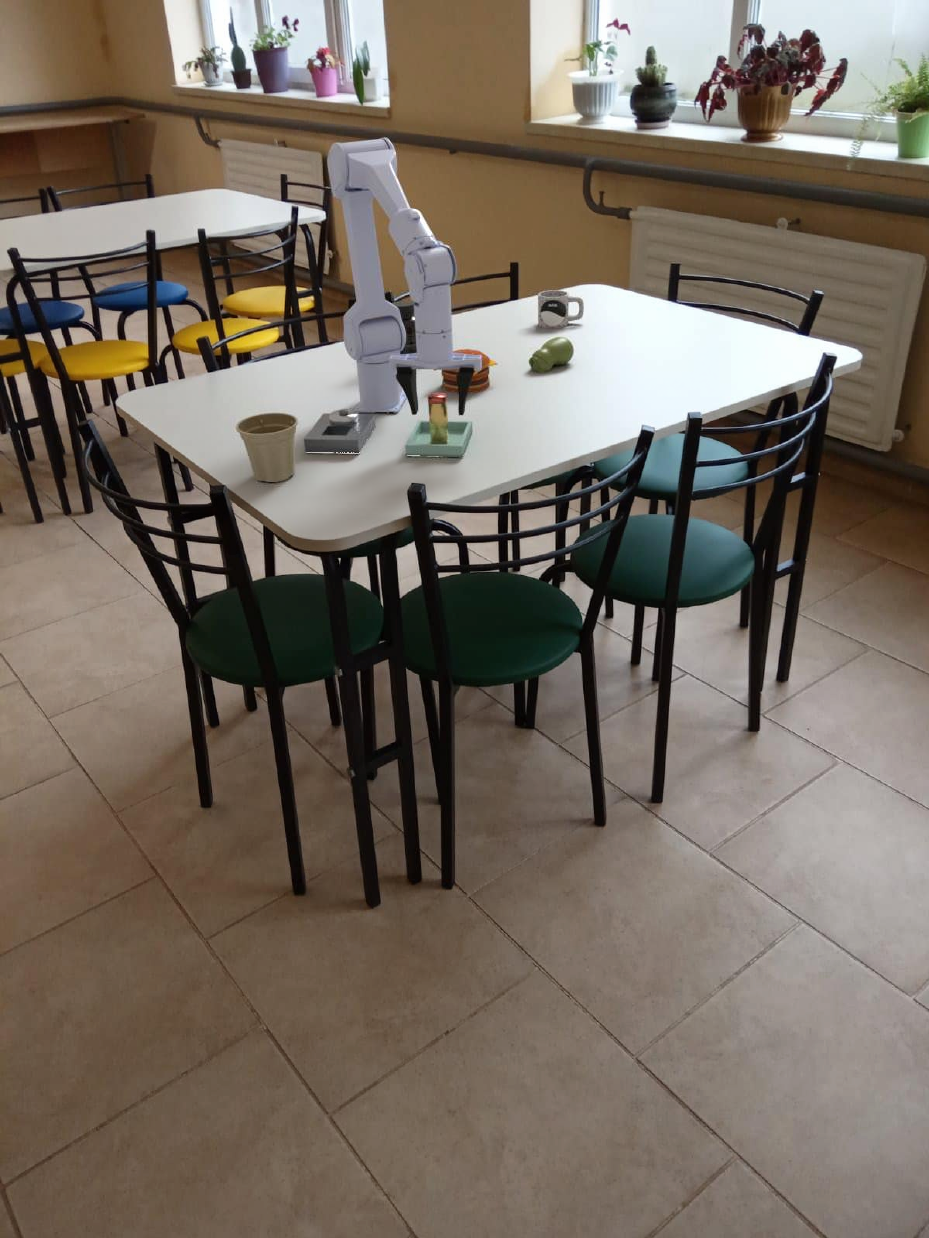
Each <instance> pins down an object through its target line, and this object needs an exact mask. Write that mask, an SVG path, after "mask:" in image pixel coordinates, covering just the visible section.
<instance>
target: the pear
mask: <svg viewBox="0 0 929 1238" xmlns="http://www.w3.org/2000/svg"><path fill="white" fill-rule="evenodd" d="M574 351H575V349H574V346H573V344H572V341H570V339H568V338H567V337H564V336H556V337H553V338H551V339H549V340H548V341H545V343H544V344H543V345H542V346H541V347H540V348H539V349H537V350H535V351H534V352H533V353H532V355H531V357H529V359H528V364H529V366H530V369H531V370H532V371H535V372H538V373H547V372H549V371H550V370H551V369H552V368H553V366H554V365H558V366H559V365H561V366H562V365H566V364H568V363H569V362H571V360H572V359H573V357H574Z"/></svg>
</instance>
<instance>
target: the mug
mask: <svg viewBox="0 0 929 1238" xmlns="http://www.w3.org/2000/svg"><path fill="white" fill-rule="evenodd" d="M569 303H577V304H578V313H577V314H576V315H575V314H574V315H571V314H570V315H569V306H570V305H569ZM584 305H585V303H584V300H583V298H581V297H578V296H574V295H573V296H572V295H569V292H567V291H566V290H559V289H557V290H556V289H555V290H554V289H550V290H544V291H540V292H538V294H537V323H538V327H541V328H542V329H561V328H566V327H567V326H569V322H574V321H579V320H581V319H582V318H583V316H584V308H585V306H584Z"/></svg>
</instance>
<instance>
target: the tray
mask: <svg viewBox="0 0 929 1238" xmlns="http://www.w3.org/2000/svg"><path fill="white" fill-rule="evenodd" d="M472 432H473V421H472V420H448V434H449V442H448V443H447V444H431V439H430V423H429V420H427V419H426V420H417V422H416V423H415V426H414V428H413V430H412V431H411V434H410V435H409V438H408V439H407V442H406V443H405V456H406V455H420V456H439V457H441V456H442V457H463V458H464V456H465V454H464V453H466V451H467V448H468V446H469V443H470V441H469V440H471V437H472V435H473V433H472ZM468 442H469V443H468ZM467 445H468V446H467ZM465 450H466V451H465ZM463 455H464V456H463Z"/></svg>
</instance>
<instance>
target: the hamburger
mask: <svg viewBox="0 0 929 1238" xmlns="http://www.w3.org/2000/svg"><path fill="white" fill-rule="evenodd" d="M453 353H460V354H468V355H482V369H481V371H475V373H474V375H473V378H472V381H471V383H470V386H469V390H468V393H467V394H471V392H472V393H476V391H477V392H481V391H483V390H486V389H487V388H488V387H489V386H490V384H491V383H490V381H491V380H490V376H489V375H490V367H492V366H496V365H497V366H498V362H496V361H494V360H493V359H490V357H489V356H488V355H486V354H485V353H483V352H482V351H480V350H477V349H469V348H466V349H465V348H463V349H458V350H453ZM439 370H441V376H442V384H441V386H442V388H443V389H444V390H446V391H447V390H448V392H451V393H456V392H457V393H458V385H457V378H456V375H457V373H458V372H459V369H433V371H434V372H435V371H439ZM480 390H481V391H480Z"/></svg>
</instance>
